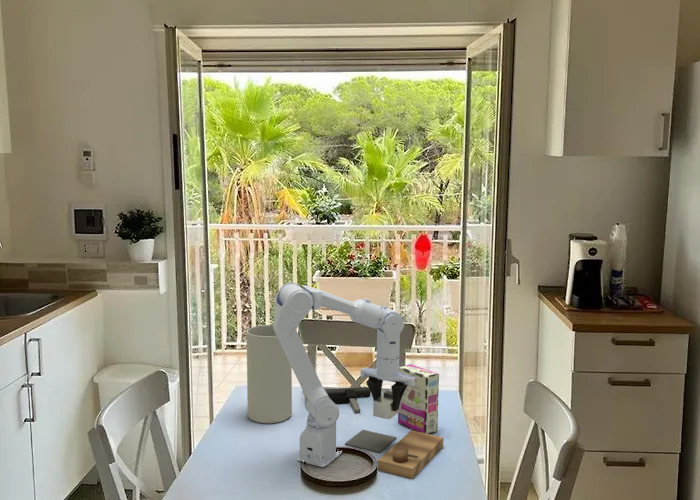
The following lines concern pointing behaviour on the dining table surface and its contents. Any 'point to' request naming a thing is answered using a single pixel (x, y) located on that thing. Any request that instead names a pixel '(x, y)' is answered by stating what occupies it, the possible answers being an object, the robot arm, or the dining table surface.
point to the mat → (370, 441)
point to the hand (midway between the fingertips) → (386, 408)
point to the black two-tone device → (348, 396)
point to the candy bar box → (420, 400)
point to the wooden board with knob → (410, 454)
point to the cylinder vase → (267, 377)
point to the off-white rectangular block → (385, 406)
